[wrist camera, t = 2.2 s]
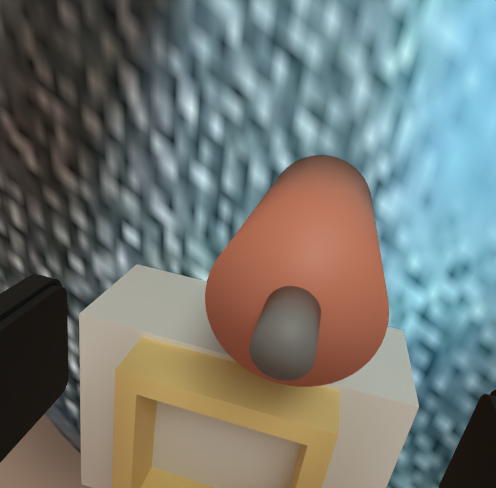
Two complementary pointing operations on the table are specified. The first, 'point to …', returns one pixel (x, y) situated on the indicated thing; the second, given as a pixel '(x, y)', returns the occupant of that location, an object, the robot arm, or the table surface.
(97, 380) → the white and yellow block
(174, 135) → the table surface
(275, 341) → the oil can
